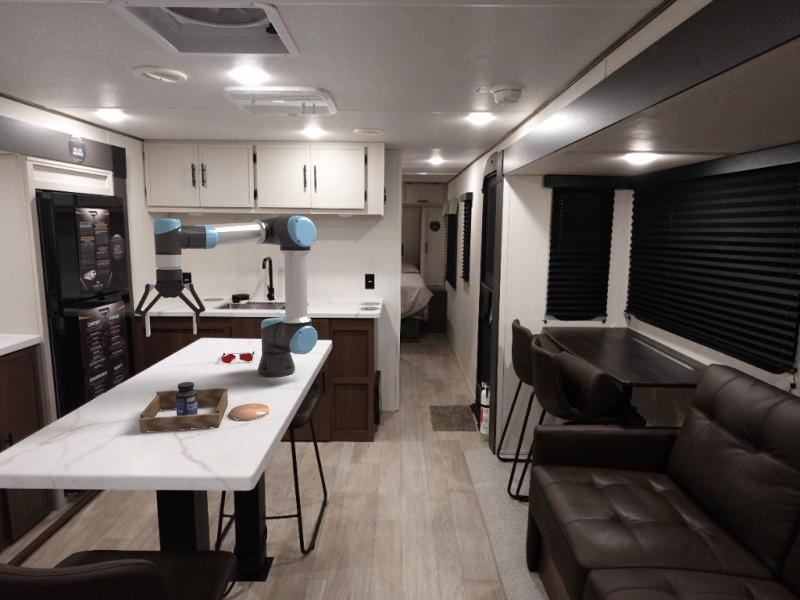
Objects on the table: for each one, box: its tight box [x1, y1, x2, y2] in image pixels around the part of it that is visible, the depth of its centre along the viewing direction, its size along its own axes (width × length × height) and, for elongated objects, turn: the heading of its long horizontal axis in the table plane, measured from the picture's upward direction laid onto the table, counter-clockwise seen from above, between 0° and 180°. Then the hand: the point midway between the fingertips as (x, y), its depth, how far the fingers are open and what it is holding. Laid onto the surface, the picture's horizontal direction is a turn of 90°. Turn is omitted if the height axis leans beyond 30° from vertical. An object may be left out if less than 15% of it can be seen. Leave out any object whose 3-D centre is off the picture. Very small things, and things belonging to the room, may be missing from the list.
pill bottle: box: [176, 381, 199, 416], centre depth 153 cm, size 6×6×11 cm
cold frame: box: [138, 387, 229, 433], centre depth 154 cm, size 22×20×6 cm
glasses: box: [220, 350, 255, 364], centre depth 225 cm, size 14×16×5 cm
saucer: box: [229, 402, 270, 421], centre depth 158 cm, size 12×12×1 cm
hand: (172, 334), depth 156 cm, fingers open, 13 cm apart
